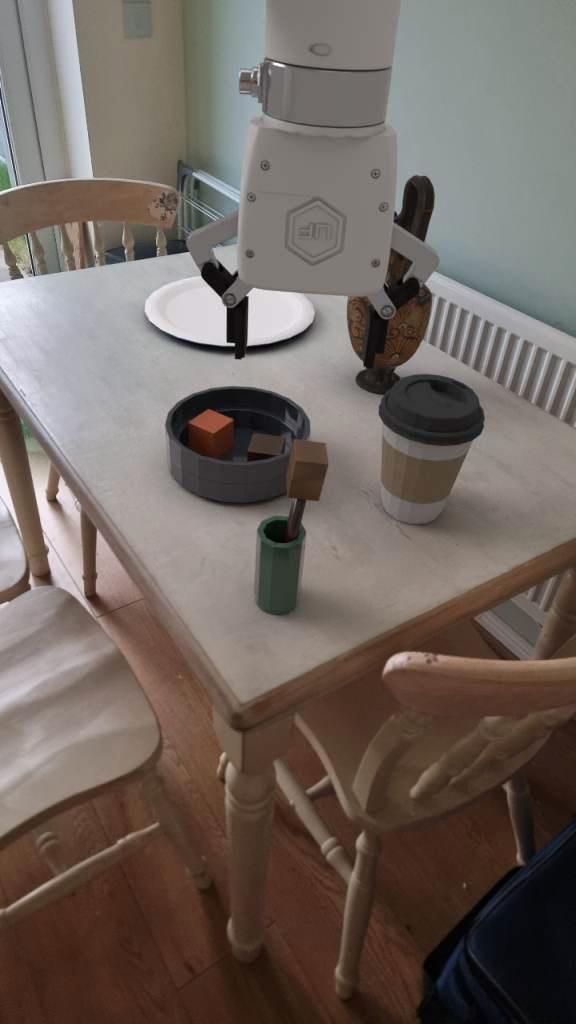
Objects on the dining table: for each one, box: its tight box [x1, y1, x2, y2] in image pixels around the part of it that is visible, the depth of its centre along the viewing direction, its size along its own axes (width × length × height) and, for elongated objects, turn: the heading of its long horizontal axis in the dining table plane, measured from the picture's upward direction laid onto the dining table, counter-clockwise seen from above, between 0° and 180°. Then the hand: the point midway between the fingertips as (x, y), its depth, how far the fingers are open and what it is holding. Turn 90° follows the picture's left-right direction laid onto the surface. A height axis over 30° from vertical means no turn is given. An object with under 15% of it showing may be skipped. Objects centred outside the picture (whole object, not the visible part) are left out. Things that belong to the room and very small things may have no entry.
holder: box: [253, 515, 307, 616], centre depth 67 cm, size 4×5×9 cm
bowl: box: [164, 385, 311, 504], centre depth 85 cm, size 17×17×6 cm
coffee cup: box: [378, 373, 486, 526], centre depth 77 cm, size 11×11×15 cm
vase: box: [346, 174, 436, 395], centre depth 95 cm, size 12×12×30 cm
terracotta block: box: [188, 409, 234, 459], centre depth 87 cm, size 4×4×4 cm
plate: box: [144, 275, 316, 348], centre depth 119 cm, size 29×29×2 cm
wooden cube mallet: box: [283, 439, 329, 543], centre depth 64 cm, size 3×3×18 cm
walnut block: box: [247, 433, 286, 462], centre depth 84 cm, size 4×4×4 cm
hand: (304, 356), depth 53 cm, fingers open, 9 cm apart
